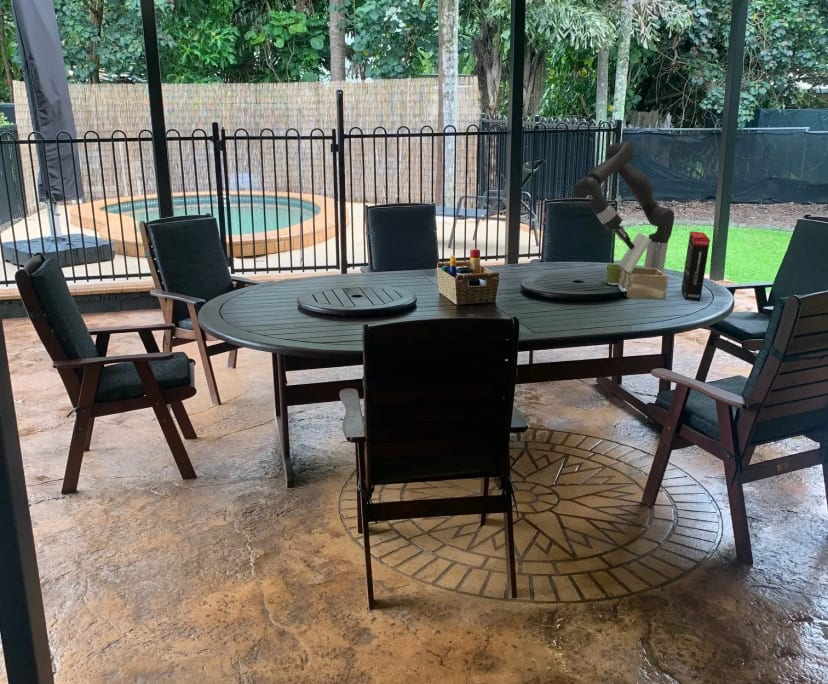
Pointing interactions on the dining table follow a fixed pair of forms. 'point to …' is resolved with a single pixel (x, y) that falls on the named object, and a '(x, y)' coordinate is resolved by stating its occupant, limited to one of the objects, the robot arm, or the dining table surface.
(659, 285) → the plywood box
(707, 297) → the dining table surface
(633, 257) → the box lid
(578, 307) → the dining table surface
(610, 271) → the plant pot
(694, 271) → the graphics card box
